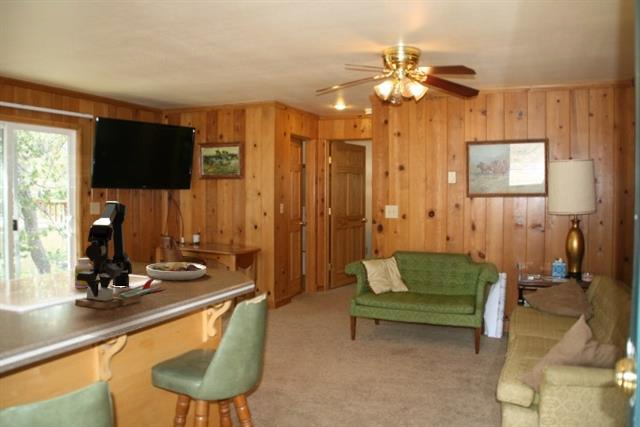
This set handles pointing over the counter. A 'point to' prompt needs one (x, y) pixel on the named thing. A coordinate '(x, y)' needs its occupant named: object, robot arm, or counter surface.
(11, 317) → the counter surface
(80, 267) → the supplement bottle
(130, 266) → the robot arm
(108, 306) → the jig
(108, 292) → the matte grey rectangular prism
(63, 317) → the counter surface
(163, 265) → the bowl
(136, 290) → the toy spaceship
